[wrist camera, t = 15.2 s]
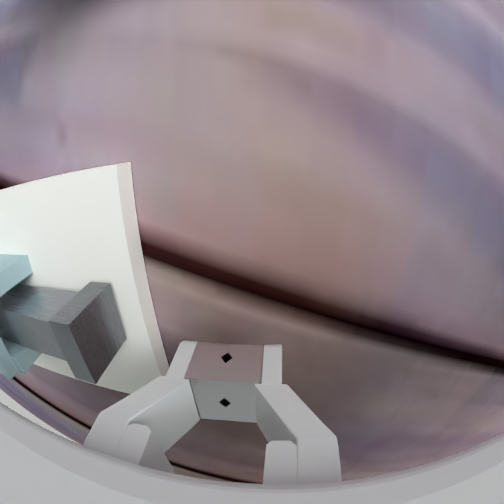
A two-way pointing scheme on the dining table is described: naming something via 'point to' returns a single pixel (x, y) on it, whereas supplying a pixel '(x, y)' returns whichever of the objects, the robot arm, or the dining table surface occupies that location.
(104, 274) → the dock
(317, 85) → the dining table surface
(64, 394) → the dining table surface
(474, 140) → the dining table surface
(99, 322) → the pin
